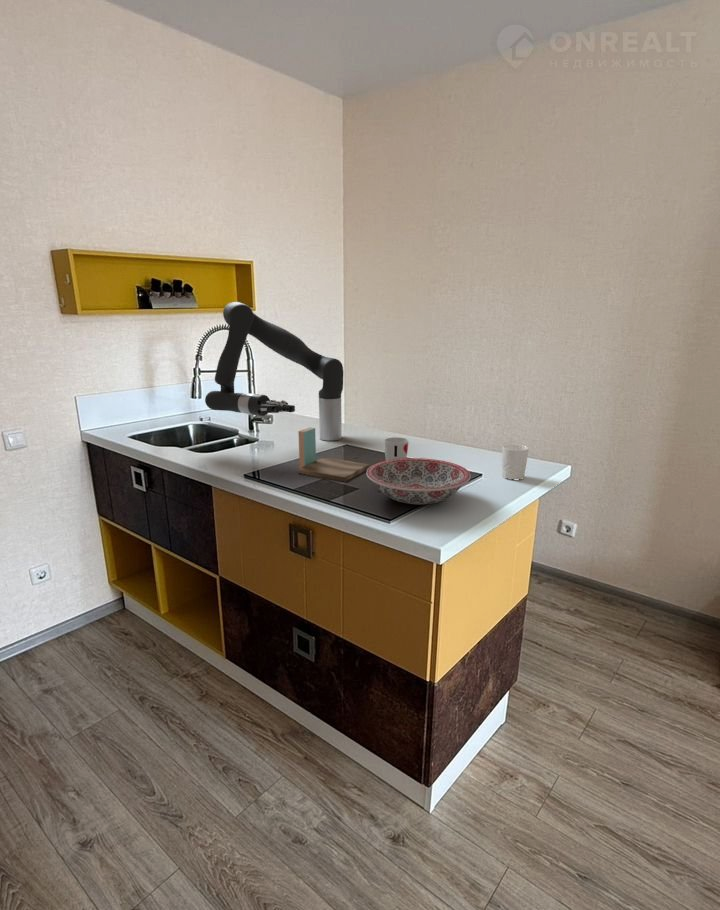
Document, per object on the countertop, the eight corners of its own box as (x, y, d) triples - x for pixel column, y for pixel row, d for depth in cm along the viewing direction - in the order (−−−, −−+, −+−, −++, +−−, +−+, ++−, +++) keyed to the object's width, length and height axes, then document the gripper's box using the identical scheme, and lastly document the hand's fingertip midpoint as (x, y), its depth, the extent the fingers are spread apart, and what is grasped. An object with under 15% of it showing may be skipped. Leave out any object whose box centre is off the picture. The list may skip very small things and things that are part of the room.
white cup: (521, 482, 163) (524, 451, 160) (497, 478, 167) (499, 448, 164) (528, 476, 169) (531, 446, 166) (504, 472, 173) (506, 443, 170)
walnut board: (324, 461, 186) (324, 457, 185) (369, 468, 177) (369, 464, 177) (298, 473, 172) (298, 469, 172) (344, 481, 164) (344, 477, 163)
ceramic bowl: (469, 522, 133) (470, 492, 131) (356, 514, 138) (356, 485, 136) (469, 485, 160) (470, 460, 158) (375, 479, 166) (375, 455, 164)
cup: (391, 473, 172) (392, 444, 169) (379, 467, 179) (379, 438, 176) (412, 470, 176) (413, 441, 173) (399, 464, 182) (400, 436, 180)
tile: (310, 463, 183) (309, 427, 180) (316, 464, 182) (315, 428, 178) (299, 468, 178) (298, 431, 174) (305, 469, 177) (304, 432, 173)
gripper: (240, 396, 179) (281, 400, 170) (265, 391, 190) (304, 395, 181) (242, 418, 181) (282, 423, 172) (266, 411, 192) (305, 416, 184)
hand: (293, 408), depth 177 cm, fingers closed
